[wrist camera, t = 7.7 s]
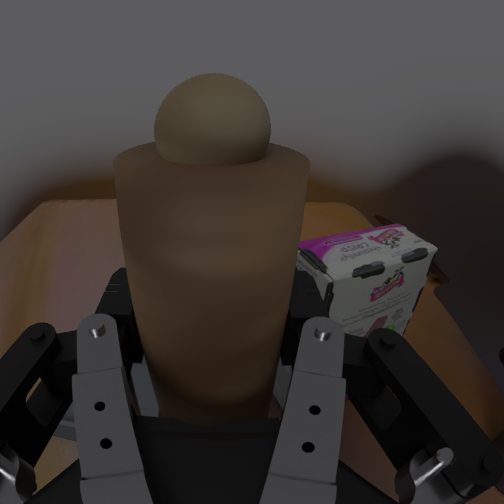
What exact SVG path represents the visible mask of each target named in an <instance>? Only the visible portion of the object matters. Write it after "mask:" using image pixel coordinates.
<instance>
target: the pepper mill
mask: <svg viewBox="0 0 504 504" xmlns="http://www.w3.org/2000/svg"><path fill="white" fill-rule="evenodd" d="M270 134H271V124H270V117H269V114H268V110H267V108H266V105H265V103H264V102H263V100H262V98H261V97H260V96H259V94H258V93H257V92H256V91H255V90H254V89H253V88H252V87H251V86H249V85H248V84H247V83H245V82H243V81H242V80H239V79H238V78H235V77H233V76H229V75H224V74H216V73H213V74H203V75H199V76H195V77H192V78H190V79H188V80H185V81H184V82H182V83H180V84H179V85H177V86H176V87H175V88H174V89H173V90H172V91H171V92H170V93H169V94H168V95H167V96H166V98H165V99H164V100H163V102H162V104H161V106H160V108H159V110H158V113H157V116H156V120H155V127H154V135H155V136H154V137H155V142H152V143H147V144H143V145H139V146H136V147H133V148H131V149H128V150H126V151H124V152H122V153H120V154H119V155H118V156H117V157H115V159H114V176H115V188H116V198H117V207H118V216H119V224H120V232H121V239H122V246H123V253H124V259H125V265H126V271H127V277H128V283H129V288H130V293H131V299H132V304H133V309H134V313H135V318H136V323H137V327H138V332H139V336H140V340H141V344H142V348H143V352H144V356H145V360H146V364H147V368H148V372H149V375H150V379H151V383H152V386H153V390H154V393H155V396H156V400H157V403H158V406H159V410H160V413H161V416H162V417H166V418H173V419H177V420H181V421H184V422H188V423H192V424H196V425H200V426H204V427H211V426H215V425H220V424H225V423H229V422H233V421H237V420H242V419H258V418H268V413H269V408H270V404H271V399H272V394H273V389H274V384H275V379H276V374H277V369H278V364H279V358H280V353H281V348H282V343H283V337H284V332H285V326H286V320H287V315H288V309H289V303H290V297H291V291H292V285H293V279H294V273H295V267H296V261H297V254H298V248H299V241H300V234H301V228H302V221H303V214H304V206H305V199H306V191H307V184H308V176H309V168H310V161H309V159H308V158H307V157H305V156H304V155H303V154H301V153H299V152H297V151H295V150H293V149H290V148H287V147H283V146H280V145H276V144H272V143H269V139H270Z"/></svg>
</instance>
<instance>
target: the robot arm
mask: <svg viewBox="0 0 504 504" xmlns="http://www.w3.org/2000/svg"><path fill="white" fill-rule="evenodd" d="M143 357H144V352H143V348H142V344H141V340H140V336H139V332H138V327H137V323H136V318H135V313H134V309H133V304H132V299H131V293H130V288H129V283H128V277H127V271H126V268H120V269H119V270H117V271H116V272H115V273H114V274H113V275H112V277H111V279H110V281H109V283H108V285H107V287H106V289H105V292H104V294H103V296H102V298H101V300H100V303H99V305H98V307H97V310H96V312H95V314H93V315H90V316H88V317H86V318H85V319H83V320H82V321H81V322H80V323H79V325H78V327H77V330H75V331H70V332H64V333H58V334H57V333H56V331H55V329H54V327H53V326H52V325H50V324H48V323H36V324H34V325H31V326H30V327H28V328H27V329H26V330H25V331H24V332H23V333H22V334H21V335H20V337H19V338H18V339H17V340H16V341H15V342H14V344H13V345H12V346H11V347H10V348H9V349H8V351H7V352H6V353H5V354H4V355H3V357H2V358H1V359H0V504H465V503H466V502H468V501H470V500H472V499H473V498H475V497H477V496H478V495H480V494H481V493H483V492H484V491H486V490H488V489H489V488H491V487H492V486H494V485H496V487H497V488H498V489H499V490H500V491H501V492H502V493H503V494H504V431H503V432H502V433H501V434H500V435H498V436H497V437H496V439H495V440H494V442H493V443H492V442H491V440H490V439H489V438H488V437H487V435H486V434H485V433H484V432H483V430H482V429H481V428H480V427H479V425H478V424H477V423H476V422H475V420H474V419H473V418H472V417H471V416H470V414H469V413H468V412H467V411H466V409H465V408H464V407H463V406H462V405H461V403H460V402H459V401H458V400H457V399H456V397H455V396H454V395H453V394H452V393H451V392H450V390H449V389H448V388H447V387H446V386H445V385H444V383H443V382H442V381H441V380H440V379H439V378H438V376H437V375H436V374H435V373H434V372H433V371H432V369H431V368H430V367H429V366H428V365H427V364H426V363H425V361H424V360H423V359H422V358H421V357H420V356H419V355H418V354H417V352H416V351H415V350H414V349H413V348H412V347H411V346H410V345H409V344H408V342H407V341H406V340H405V339H404V338H403V337H402V336H401V335H400V334H399V333H397V332H396V331H394V330H391V329H388V328H378V329H375V330H373V331H371V333H370V334H369V336H368V338H366V337H360V336H354V335H350V334H347V333H344V329H343V328H342V326H341V325H340V324H339V323H338V322H336V321H335V320H333V319H330V316H329V314H328V311H327V309H326V306H325V304H324V301H323V299H322V296H321V295H320V292H319V289H318V288H317V284H316V282H315V279H314V278H313V277H312V276H311V275H310V274H309V273H308V272H307V271H298V270H297V267H295V273H294V279H293V285H292V291H291V297H290V303H289V309H288V315H287V320H286V326H285V332H284V337H283V343H282V348H281V353H280V357H281V362H282V366H288V365H291V369H292V374H291V378H290V382H289V387H288V391H287V395H286V399H285V403H284V407H283V411H282V415H281V419H280V423H279V418H278V417H277V418H258V419H242V420H237V421H233V422H229V423H225V424H220V425H215V426H211V427H204V426H200V425H196V424H192V423H188V422H184V421H181V420H177V419H173V418H166V417H153V416H142V415H141V412H140V408H139V404H138V400H137V395H136V391H135V386H134V382H133V377H132V374H131V370H132V365H133V363H140V364H142V361H143ZM39 377H40V378H41V382H40V383H39V385H38V386H37V387H36V389H35V390H34V392H33V393H32V395H31V396H30V398H29V399H28V400H27V402H26V397H27V394H28V393H29V391H30V390H31V388H32V387H33V386H34V384H35V383H36V381H37V380H38V379H39ZM387 385H388V386H387ZM388 387H389V388H390V389H391V390H390V389H389V388H388ZM391 391H392V392H393V393H394V394H393V393H392V392H391ZM345 394H347V396H348V398H349V399H350V401H351V402H352V404H353V405H354V407H355V408H356V410H357V411H358V413H359V414H360V416H361V417H362V419H363V420H364V422H365V423H366V425H367V426H368V428H369V429H370V431H371V432H372V434H373V435H374V437H375V438H376V440H377V441H378V443H379V444H380V446H381V447H382V449H383V450H384V452H385V453H386V455H387V456H388V458H389V459H390V461H391V462H392V464H393V465H394V467H395V468H396V470H397V473H396V476H395V491H396V494H397V495H399V503H398V502H396V501H395V500H393V499H392V498H390V497H389V496H387V495H386V494H385V493H383V492H382V491H380V490H379V489H378V488H376V487H375V486H373V485H372V484H371V483H369V482H368V481H367V480H365V479H364V478H362V477H361V476H360V475H358V474H357V473H356V472H355V471H353V470H352V469H351V468H349V467H348V466H347V465H345V464H344V463H343V462H342V461H340V460H339V459H338V458H339V450H340V442H341V433H342V424H343V414H344V403H345ZM395 396H396V397H397V398H396V397H395ZM398 400H399V401H398ZM72 402H73V408H74V420H75V430H76V439H77V447H78V454H79V458H78V459H77V460H76V461H75V462H74V463H72V464H71V465H70V466H69V467H68V468H66V469H65V470H64V471H63V472H62V473H60V474H59V475H58V476H57V477H55V478H54V479H53V480H52V481H51V482H49V483H48V484H47V485H46V486H44V487H43V488H42V489H41V490H39V491H38V492H37V493H36V494H34V495H33V493H34V492H35V491H36V490H37V484H36V476H35V472H34V467H35V465H36V463H37V461H38V460H39V458H40V456H41V454H42V453H43V451H44V449H45V447H46V446H47V444H48V442H49V440H50V439H51V437H52V435H53V433H54V432H55V430H56V428H57V427H58V425H59V423H60V422H61V420H62V418H63V417H64V415H65V413H66V412H67V410H68V408H69V407H70V405H71V404H72Z"/></svg>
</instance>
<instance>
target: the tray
mask: <svg viewBox="0 0 504 504" xmlns="http://www.w3.org/2000/svg"><path fill="white" fill-rule="evenodd" d="M131 374H132V377H133V382H134V386H135V391H136V395H137V400H138V404H139V408H140V412H141V415H142V416H153V417H162V416H161V413H160V410H159V406H158V403H157V400H156V396H155V393H154V390H153V386H152V383H151V379H150V375H149V372H148V368H147V364H146V360H145V356H144V357H143V361H142V364H140V363H133V365H132V370H131ZM53 436H57V437H61V438H65V439H69V440H73V441H77V439H76V430H75V420H74V408H73V402H72V404H71V405H70V407H69V408H68V410H67V412H66V413H65V415H64V417H63V418H62V420H61V422H60V423H59V425H58V427H57V428H56V430H55V432H54V433H53Z"/></svg>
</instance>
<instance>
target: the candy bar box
mask: <svg viewBox="0 0 504 504" xmlns="http://www.w3.org/2000/svg"><path fill="white" fill-rule="evenodd" d="M437 250H438V248H437V247H435V246H434V245H432V244H430V243H429V242H428V241H426V240H424V239H423V238H421V237H420V236H418V235H417V234H415V233H414V232H411V231H409V229H408V228H406V227H404V226H402V225H399V224H393V225H387V226H381V227H376V228H370V229H364V230H358V231H353V232H347V233H342V234H336V235H331V236H325V237H319V238H313V239H308V240H302V241H299V248H298V254H297V261H296V267H297V270H298V271H307V272H308V273H309V274H310V275H311V276H312V277H313V278H314V279H315V282H316V284H317V288H318V289H319V292H320V295H321V296H322V299H323V301H324V304H325V306H326V309H327V311H328V314H329V316H330V319H333V320H335V321H336V322H338V323H339V324H340V325H341V326H342V328H343V329H344V333H347V334H350V335H354V336H360V337H366V338H368V336H369V334H370V333H371V331H373V330H375V329H378V328H388V329H391V330H394V331H396V332H397V333H399V334H400V335H401V336H403V334H404V332H405V330H406V327H407V325H408V323H409V321H410V319H411V316H412V314H413V312H414V310H415V307H416V305H417V302H418V300H419V297H420V295H421V292H422V290H423V287H424V285H425V282H426V279H427V277H428V274H429V271H430V268H431V266H432V263H433V260H434V256H435V254H436V252H437ZM291 374H292V369H291V365H288V366H282V362H281V357H280V358H279V364H278V369H277V374H276V379H275V384H274V389H273V396H274V398H275V399H276V400H277V402H278V403H279V405H280V406H281V408H282V410H283V407H284V403H285V399H286V395H287V391H288V387H289V382H290V378H291ZM348 399H349V398H348V396H347V394H345V400H348Z"/></svg>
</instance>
